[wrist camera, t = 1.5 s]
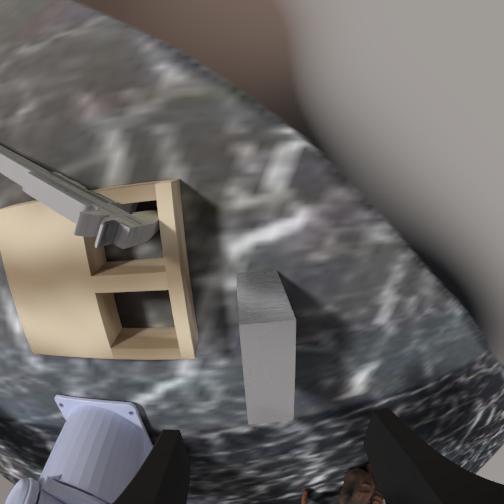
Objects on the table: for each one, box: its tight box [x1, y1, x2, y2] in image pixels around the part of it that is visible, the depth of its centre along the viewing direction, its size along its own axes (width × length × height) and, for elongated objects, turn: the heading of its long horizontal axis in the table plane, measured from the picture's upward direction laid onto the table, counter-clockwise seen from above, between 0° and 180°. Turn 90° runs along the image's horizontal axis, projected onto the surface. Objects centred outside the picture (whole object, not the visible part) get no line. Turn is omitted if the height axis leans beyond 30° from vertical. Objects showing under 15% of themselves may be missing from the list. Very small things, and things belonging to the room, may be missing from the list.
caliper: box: [0, 145, 160, 249], centre depth 12 cm, size 20×1×6 cm, turn 65°
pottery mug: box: [301, 463, 384, 504], centre depth 24 cm, size 12×10×8 cm
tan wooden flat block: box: [0, 179, 199, 360], centre depth 17 cm, size 10×12×2 cm
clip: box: [237, 271, 296, 425], centre depth 17 cm, size 6×2×6 cm, turn 3°
